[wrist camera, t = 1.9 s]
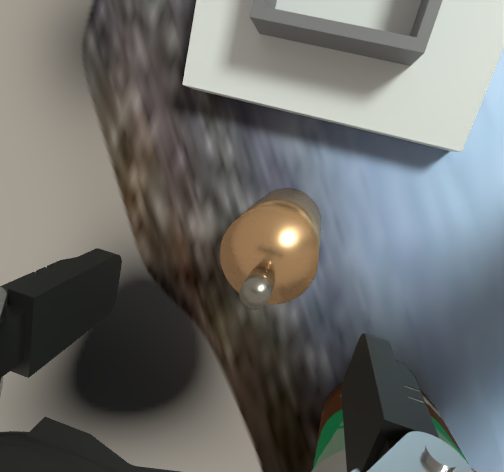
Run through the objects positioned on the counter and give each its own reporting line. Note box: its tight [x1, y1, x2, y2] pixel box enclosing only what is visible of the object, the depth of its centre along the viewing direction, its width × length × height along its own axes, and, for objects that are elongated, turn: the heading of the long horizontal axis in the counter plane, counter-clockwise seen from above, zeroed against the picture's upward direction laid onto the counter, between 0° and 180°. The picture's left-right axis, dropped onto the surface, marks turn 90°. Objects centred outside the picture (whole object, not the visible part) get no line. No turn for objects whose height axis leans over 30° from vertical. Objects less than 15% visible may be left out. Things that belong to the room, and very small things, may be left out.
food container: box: [311, 383, 476, 472], centre depth 24 cm, size 12×6×10 cm, turn 113°
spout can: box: [220, 188, 321, 309], centre depth 21 cm, size 5×5×11 cm
